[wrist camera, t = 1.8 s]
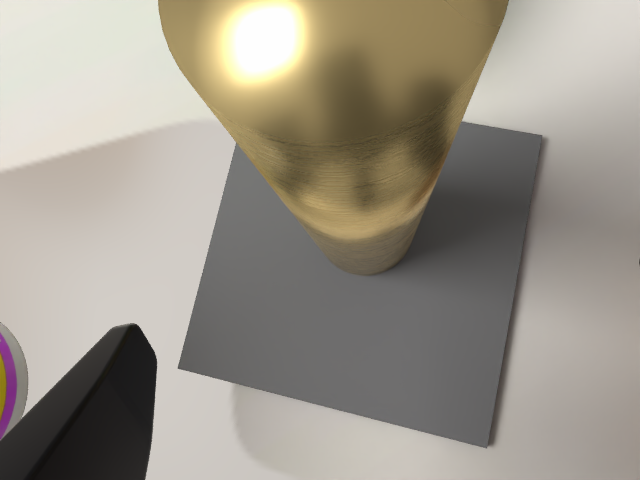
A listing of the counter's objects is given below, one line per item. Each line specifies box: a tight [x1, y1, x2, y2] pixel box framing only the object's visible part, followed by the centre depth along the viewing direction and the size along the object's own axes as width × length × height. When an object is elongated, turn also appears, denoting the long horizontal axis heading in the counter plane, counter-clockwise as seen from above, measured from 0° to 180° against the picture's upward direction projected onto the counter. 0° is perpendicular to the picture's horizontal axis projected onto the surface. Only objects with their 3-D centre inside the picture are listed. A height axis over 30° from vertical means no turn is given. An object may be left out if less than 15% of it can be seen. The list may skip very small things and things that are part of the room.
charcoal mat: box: [178, 122, 542, 448], centre depth 20 cm, size 12×12×1 cm
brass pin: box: [158, 0, 509, 276], centre depth 13 cm, size 4×4×15 cm
